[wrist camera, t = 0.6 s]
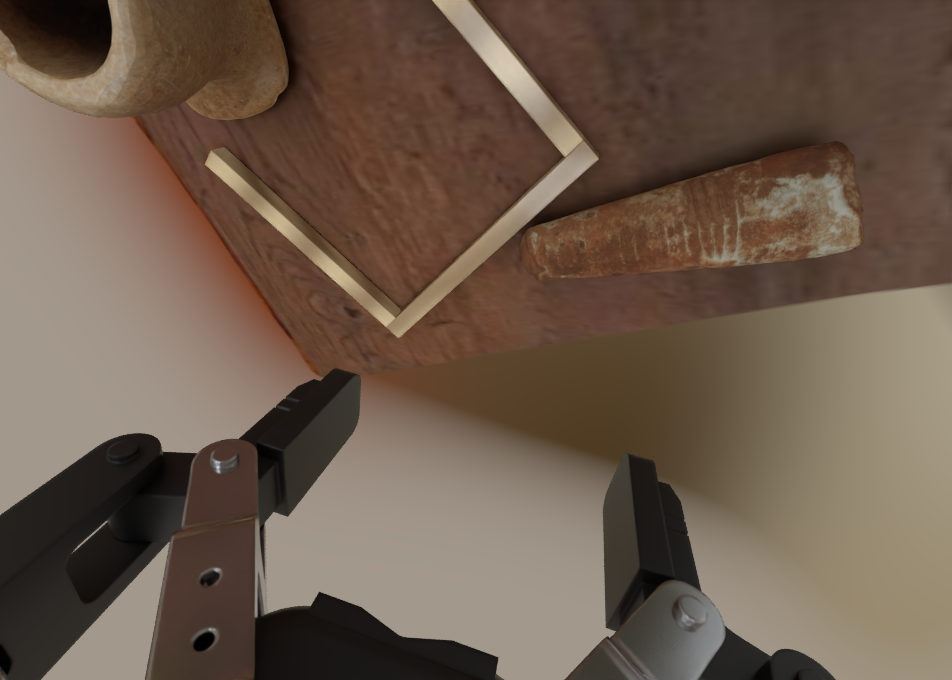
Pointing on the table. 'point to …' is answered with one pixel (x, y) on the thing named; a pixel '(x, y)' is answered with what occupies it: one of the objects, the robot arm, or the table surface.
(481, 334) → the table surface
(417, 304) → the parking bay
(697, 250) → the rusty brown cylinder
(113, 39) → the stone cup
